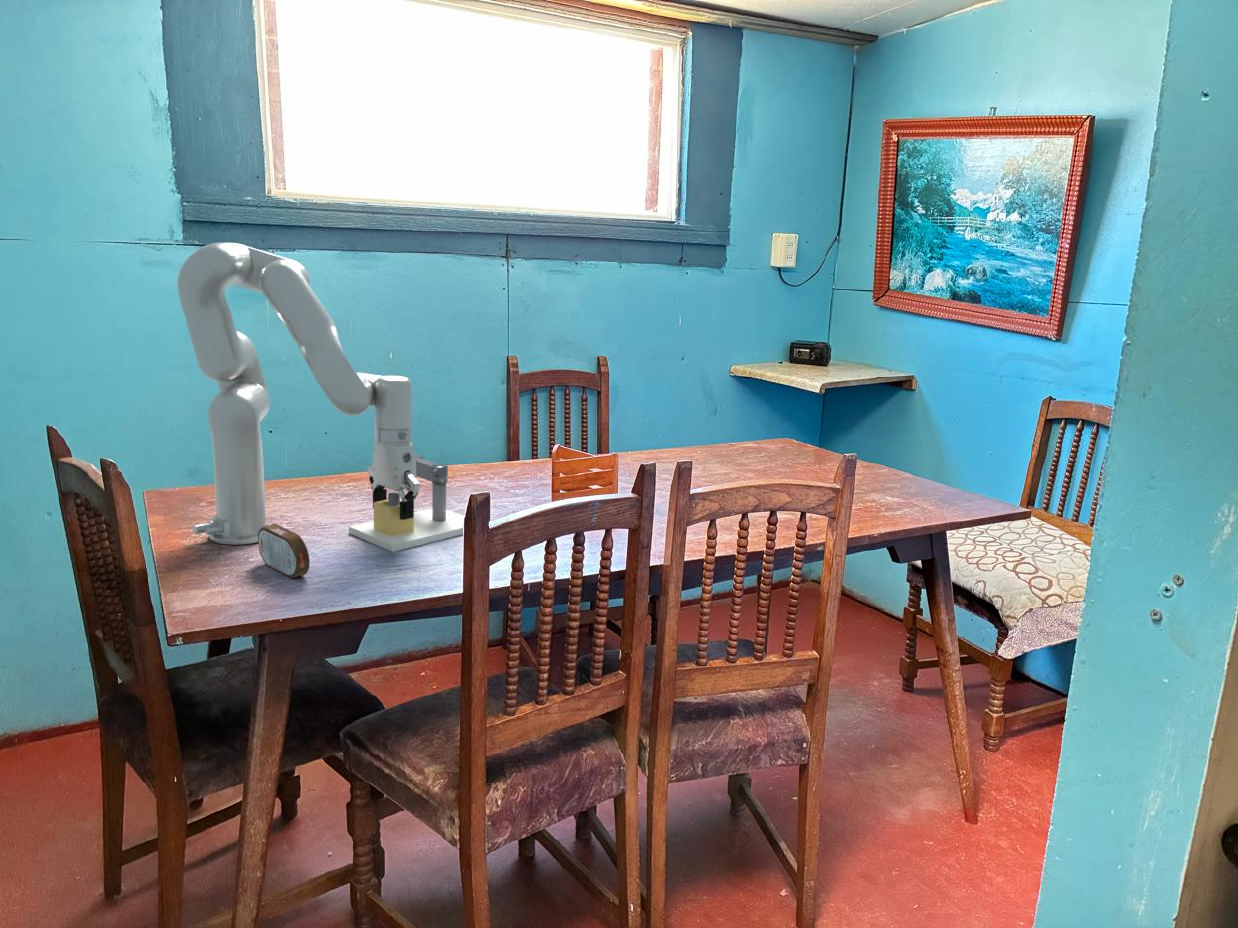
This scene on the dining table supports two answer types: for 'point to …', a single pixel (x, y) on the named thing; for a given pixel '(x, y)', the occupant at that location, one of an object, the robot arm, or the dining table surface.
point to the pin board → (416, 524)
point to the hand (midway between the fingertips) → (393, 513)
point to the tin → (283, 550)
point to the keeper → (431, 470)
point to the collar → (390, 519)
